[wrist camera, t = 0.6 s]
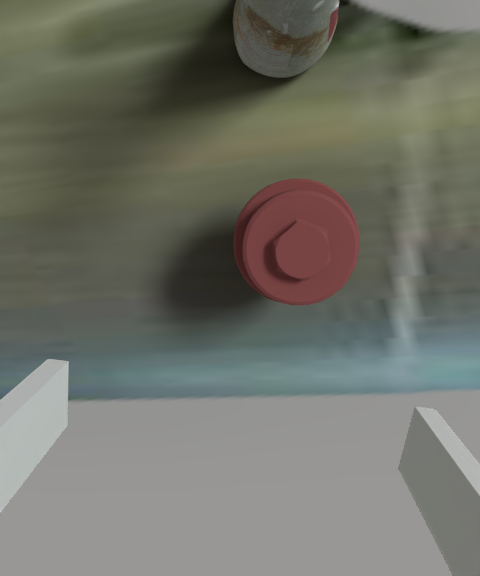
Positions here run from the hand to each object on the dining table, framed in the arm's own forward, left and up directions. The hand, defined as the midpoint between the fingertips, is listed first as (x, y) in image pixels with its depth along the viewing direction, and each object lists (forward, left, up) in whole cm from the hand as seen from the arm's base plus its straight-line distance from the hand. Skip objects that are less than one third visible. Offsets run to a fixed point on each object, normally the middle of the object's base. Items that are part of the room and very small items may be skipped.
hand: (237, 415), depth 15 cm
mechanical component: (-4, +4, -27) cm, 27 cm away
